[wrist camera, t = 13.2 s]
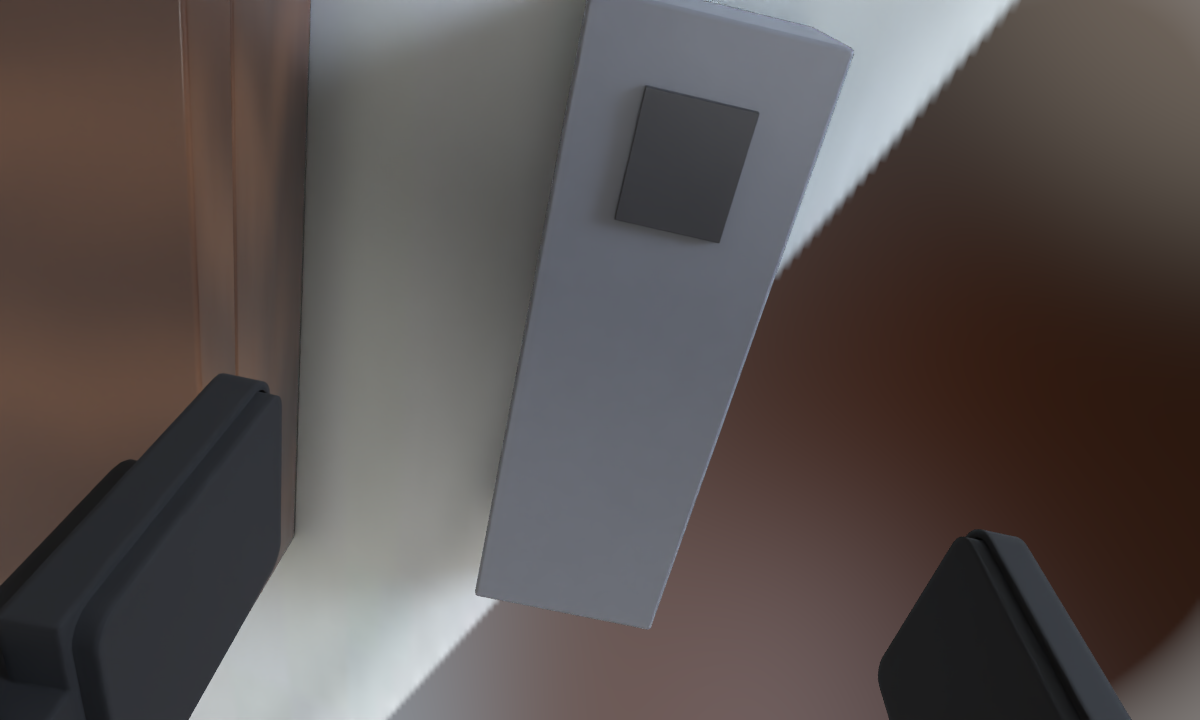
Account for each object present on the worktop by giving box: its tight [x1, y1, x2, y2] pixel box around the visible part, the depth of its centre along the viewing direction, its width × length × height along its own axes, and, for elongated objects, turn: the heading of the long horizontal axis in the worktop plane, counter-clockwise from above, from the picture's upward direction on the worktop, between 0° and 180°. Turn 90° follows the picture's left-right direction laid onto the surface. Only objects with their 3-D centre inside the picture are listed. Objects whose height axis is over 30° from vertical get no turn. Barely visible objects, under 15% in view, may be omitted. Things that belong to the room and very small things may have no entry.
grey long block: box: [475, 0, 854, 629], centre depth 17 cm, size 14×4×4 cm, turn 168°
